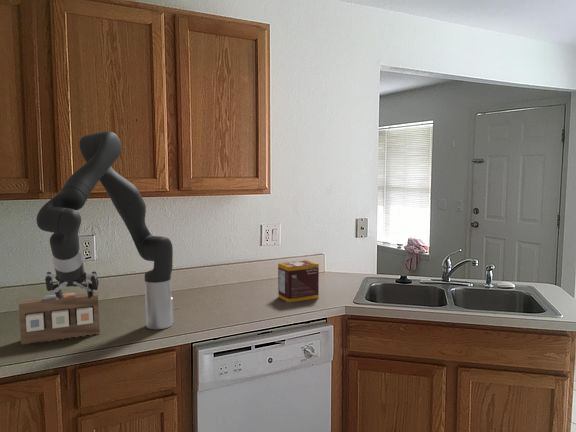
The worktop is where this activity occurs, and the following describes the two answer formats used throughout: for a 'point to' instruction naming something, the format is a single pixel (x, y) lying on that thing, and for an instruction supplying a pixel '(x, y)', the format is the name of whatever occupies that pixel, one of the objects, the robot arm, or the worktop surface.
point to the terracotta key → (84, 315)
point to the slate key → (35, 321)
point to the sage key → (60, 318)
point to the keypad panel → (47, 306)
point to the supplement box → (298, 280)
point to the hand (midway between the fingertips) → (75, 296)
